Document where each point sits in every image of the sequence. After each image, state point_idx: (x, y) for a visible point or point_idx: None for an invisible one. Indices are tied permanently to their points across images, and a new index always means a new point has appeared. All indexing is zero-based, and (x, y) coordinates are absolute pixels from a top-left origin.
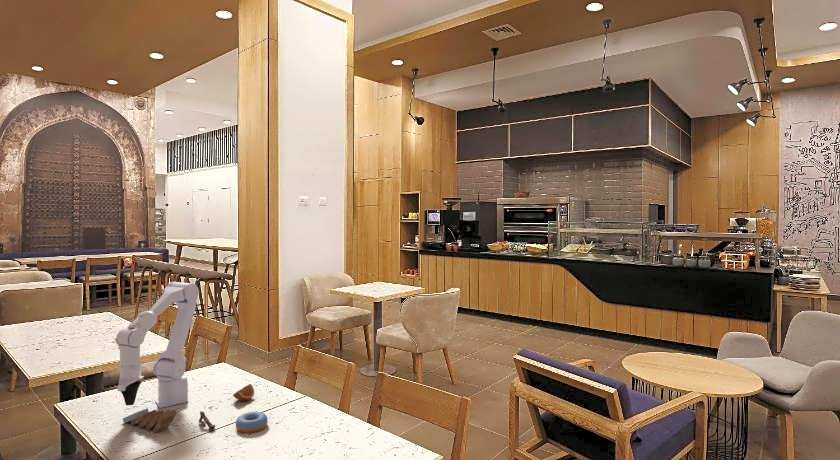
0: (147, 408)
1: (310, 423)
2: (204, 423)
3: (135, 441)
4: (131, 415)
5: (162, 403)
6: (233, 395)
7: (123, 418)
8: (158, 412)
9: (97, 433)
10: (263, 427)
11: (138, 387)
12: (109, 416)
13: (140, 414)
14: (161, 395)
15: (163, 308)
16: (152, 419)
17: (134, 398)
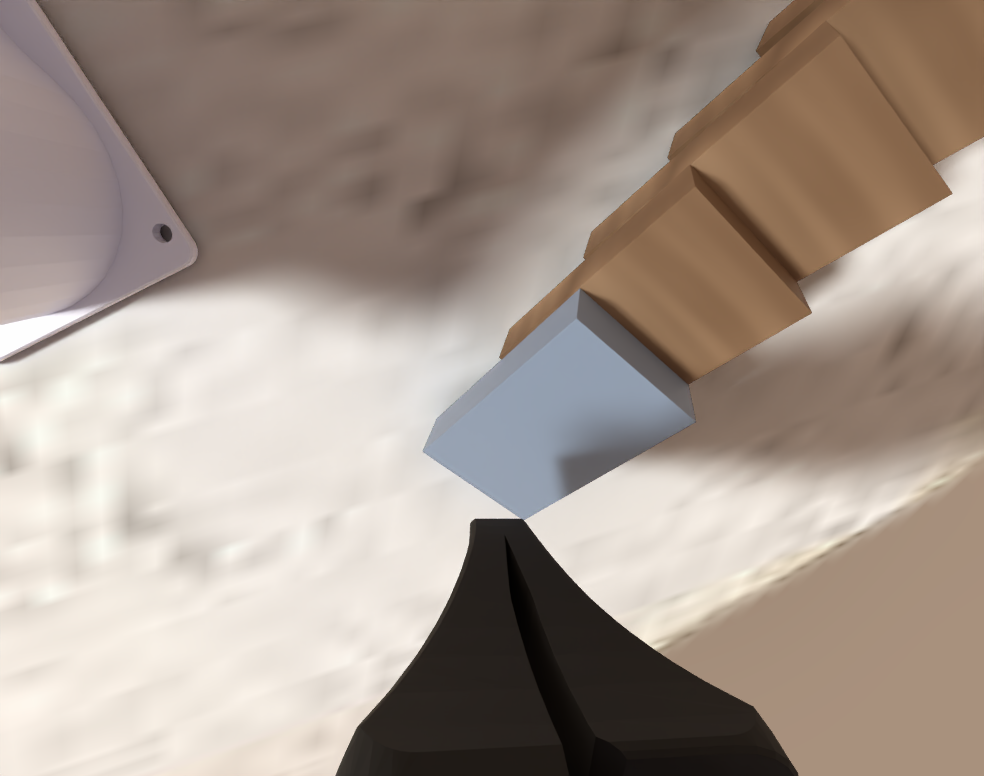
0: (579, 319)
1: None
2: None
3: (939, 278)
4: (632, 451)
5: (110, 245)
6: None
7: (533, 511)
8: (877, 94)
9: (669, 591)
10: None
11: (449, 668)
12: (362, 630)
13: (656, 364)
14: (17, 268)
15: None
16: (942, 157)
17: (525, 558)
